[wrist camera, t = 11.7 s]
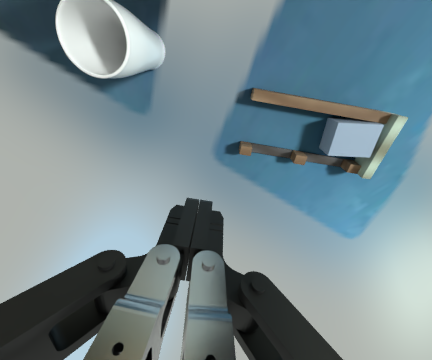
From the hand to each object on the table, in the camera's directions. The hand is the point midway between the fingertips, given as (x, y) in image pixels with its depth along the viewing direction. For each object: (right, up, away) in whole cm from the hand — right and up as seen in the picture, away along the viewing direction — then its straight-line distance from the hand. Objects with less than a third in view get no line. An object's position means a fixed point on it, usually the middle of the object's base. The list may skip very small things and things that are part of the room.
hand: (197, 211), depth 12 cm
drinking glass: (-9, +22, +19) cm, 31 cm away
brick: (+24, +10, +24) cm, 36 cm away
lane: (+17, +11, +24) cm, 31 cm away
